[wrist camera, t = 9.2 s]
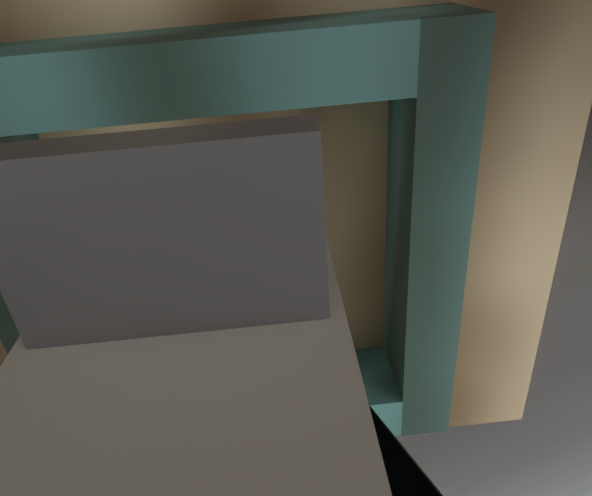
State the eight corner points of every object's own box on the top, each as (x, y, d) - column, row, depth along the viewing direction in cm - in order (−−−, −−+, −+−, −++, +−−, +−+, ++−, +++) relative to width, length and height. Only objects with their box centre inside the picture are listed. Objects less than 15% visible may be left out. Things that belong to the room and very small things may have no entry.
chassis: (622, -163, 11) (756, -207, 8) (510, 399, 20) (555, 476, 17) (-282, -90, 11) (-487, -108, 8) (15, 454, 20) (-28, 543, 17)
